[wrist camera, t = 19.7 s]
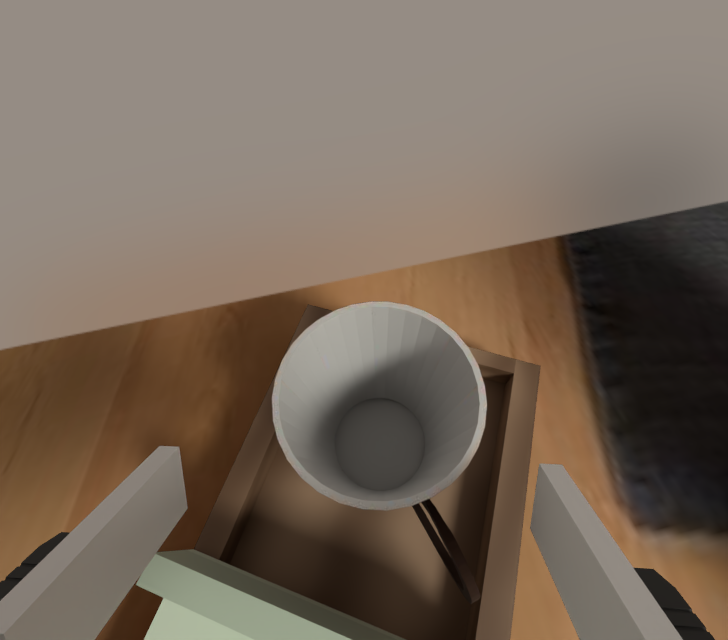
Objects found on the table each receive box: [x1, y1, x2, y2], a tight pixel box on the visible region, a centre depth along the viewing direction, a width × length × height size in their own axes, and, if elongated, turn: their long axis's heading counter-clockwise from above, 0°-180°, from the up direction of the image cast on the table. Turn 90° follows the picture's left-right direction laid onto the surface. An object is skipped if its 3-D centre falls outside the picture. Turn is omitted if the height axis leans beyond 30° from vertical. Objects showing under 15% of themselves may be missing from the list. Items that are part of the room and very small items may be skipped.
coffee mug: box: [272, 301, 487, 604], centre depth 19 cm, size 12×9×10 cm
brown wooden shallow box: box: [194, 305, 540, 640], centre depth 20 cm, size 16×30×4 cm, turn 162°
